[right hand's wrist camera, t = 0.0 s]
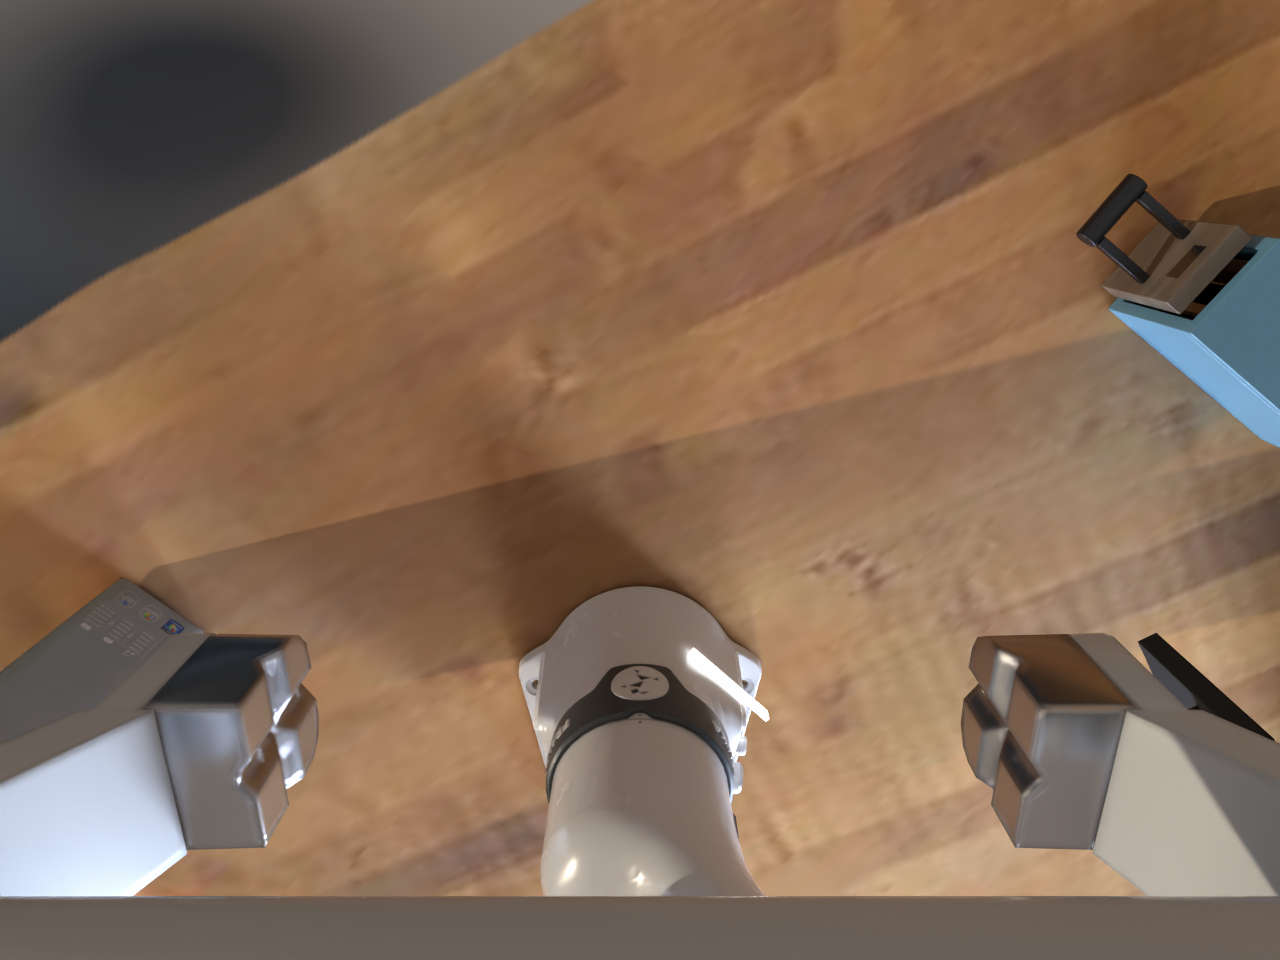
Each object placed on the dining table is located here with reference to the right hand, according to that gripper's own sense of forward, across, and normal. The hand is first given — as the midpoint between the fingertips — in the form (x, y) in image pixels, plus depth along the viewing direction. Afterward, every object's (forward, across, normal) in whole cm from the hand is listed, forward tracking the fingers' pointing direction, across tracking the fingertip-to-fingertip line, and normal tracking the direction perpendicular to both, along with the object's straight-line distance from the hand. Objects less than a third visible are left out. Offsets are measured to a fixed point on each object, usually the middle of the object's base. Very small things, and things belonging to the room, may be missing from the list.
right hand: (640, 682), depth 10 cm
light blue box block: (+48, +40, -5) cm, 62 cm away
